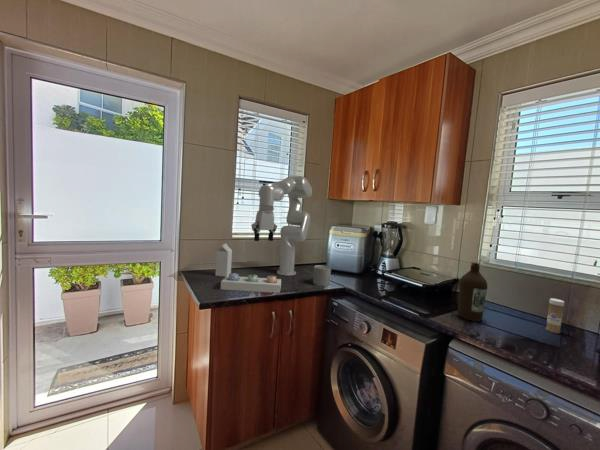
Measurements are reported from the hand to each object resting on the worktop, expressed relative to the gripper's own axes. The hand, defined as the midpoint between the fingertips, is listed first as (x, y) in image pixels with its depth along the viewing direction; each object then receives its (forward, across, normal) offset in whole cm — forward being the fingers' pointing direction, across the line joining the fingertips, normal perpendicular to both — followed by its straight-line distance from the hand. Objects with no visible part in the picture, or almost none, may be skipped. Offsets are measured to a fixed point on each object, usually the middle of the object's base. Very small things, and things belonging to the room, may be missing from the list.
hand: (263, 240), depth 151 cm
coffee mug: (+24, -35, +15) cm, 45 cm away
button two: (+23, +11, -9) cm, 27 cm away
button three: (+23, +5, -1) cm, 24 cm away
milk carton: (+25, +3, -32) cm, 40 cm away
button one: (+23, -2, +6) cm, 24 cm away
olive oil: (+25, -47, +90) cm, 105 cm away
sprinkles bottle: (+25, -60, +118) cm, 134 cm away
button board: (+25, +5, -1) cm, 26 cm away
